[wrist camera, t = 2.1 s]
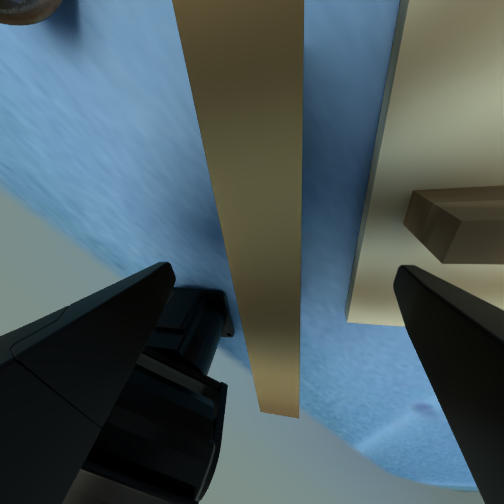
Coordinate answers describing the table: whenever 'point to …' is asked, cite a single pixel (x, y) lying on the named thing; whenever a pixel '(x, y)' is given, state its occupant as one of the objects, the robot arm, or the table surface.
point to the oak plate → (255, 169)
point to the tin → (26, 11)
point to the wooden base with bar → (436, 159)
